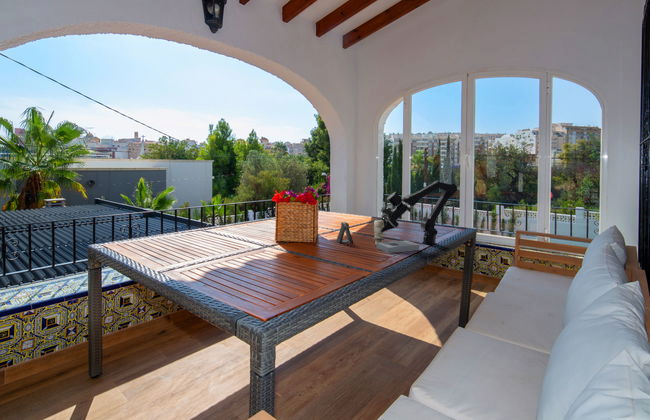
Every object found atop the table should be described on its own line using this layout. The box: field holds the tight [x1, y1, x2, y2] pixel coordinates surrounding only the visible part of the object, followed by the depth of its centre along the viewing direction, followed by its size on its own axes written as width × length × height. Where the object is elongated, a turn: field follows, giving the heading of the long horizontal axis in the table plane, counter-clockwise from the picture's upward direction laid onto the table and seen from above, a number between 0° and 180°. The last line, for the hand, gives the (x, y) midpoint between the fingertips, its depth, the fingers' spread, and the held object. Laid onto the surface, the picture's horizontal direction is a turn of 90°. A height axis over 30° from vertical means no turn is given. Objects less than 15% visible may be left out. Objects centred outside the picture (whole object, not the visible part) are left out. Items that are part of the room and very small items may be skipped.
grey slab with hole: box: [376, 240, 420, 254], centre depth 197 cm, size 20×12×3 cm, turn 112°
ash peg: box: [373, 219, 385, 246], centre depth 207 cm, size 6×6×14 cm
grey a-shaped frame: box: [336, 221, 354, 244], centre depth 213 cm, size 9×6×12 cm, turn 104°
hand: (379, 230), depth 207 cm, fingers open, 9 cm apart
